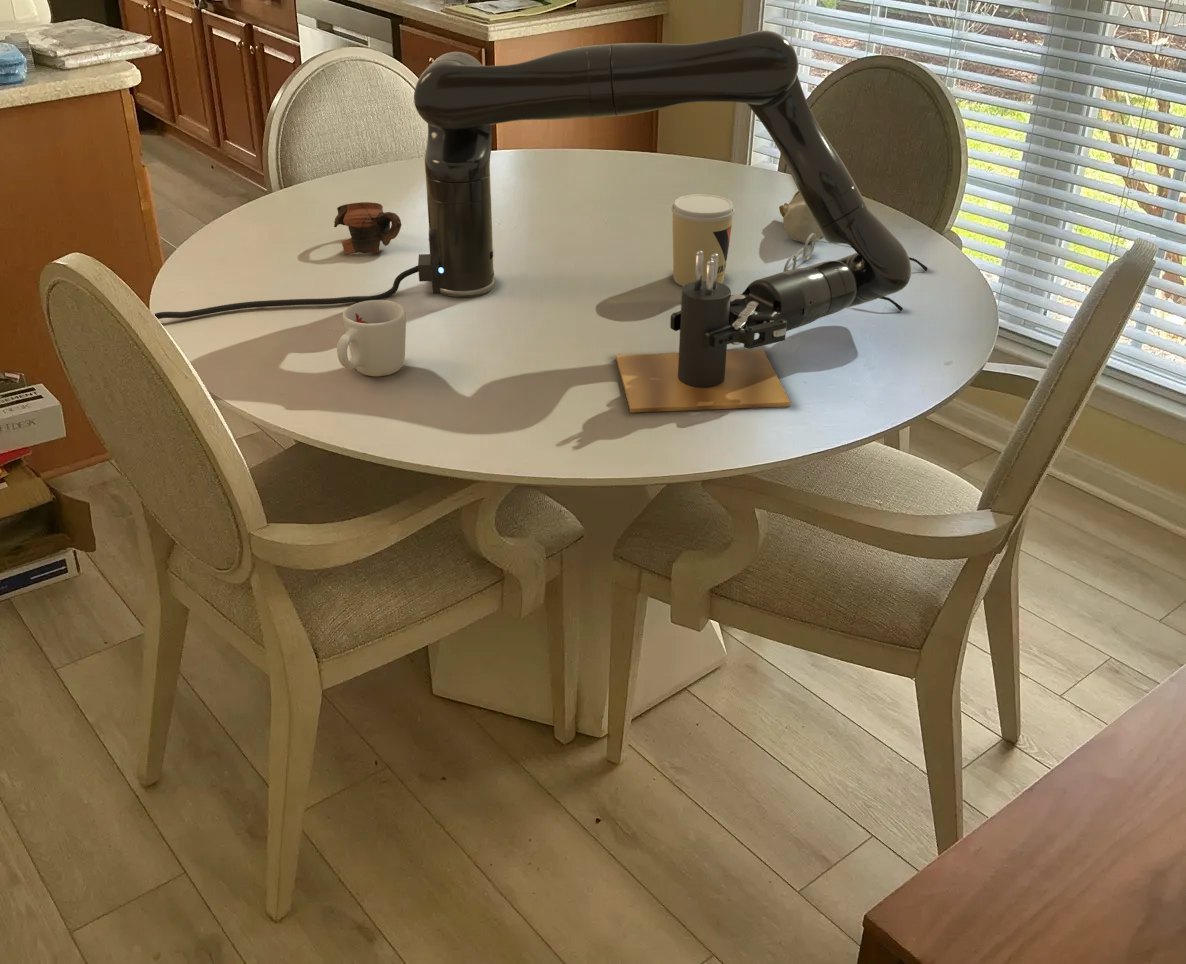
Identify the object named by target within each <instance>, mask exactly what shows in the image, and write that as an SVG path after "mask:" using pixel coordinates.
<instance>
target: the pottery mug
mask: <svg viewBox="0 0 1186 964" xmlns="http://www.w3.org/2000/svg"><path fill="white" fill-rule="evenodd" d="M383 208H384V206H383V204H381V203H378V202H369V201H360V202H352V203H345V204H341V205H340V206H337V208H336V210H337V215H336V216H335V218H334V221H333V223H334V225H333V227H334V228H337V227H338V226H339V225H342V226H346V227H348V231H349V234H350V238H347V239H345V240H344V239H343V240H342V241H341V245H342V249H343V252H344V255H353V254H360V253H361V254H379V253H380V247H381V243H382V245H384V246H386V247H387V246H389V244H390V243H391V241H392V240H395V238H396V237H397V236H398V235H399V234H400V231H401V229H402V221H401V218H400V216H399V215H398V214H397V213H396V212H391V211H385V212H384V210H383Z"/></svg>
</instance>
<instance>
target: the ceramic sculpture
mask: <svg viewBox="0 0 1186 964" xmlns="http://www.w3.org/2000/svg"><path fill="white" fill-rule="evenodd" d="M778 209H779V213H780V215H781V217H782V218H783V220H782V223H783V229H784V231H785V233H786V235H787V236H788V237H789V239H791V240H793V241H797V242H799V243H802V244H805V243H806V240H807V238H808V237H809V236H810V234H812V233H815V234H816V239H818V240H819V241H820V239H822V238H823V237H824V236H823V235H822V233H821V231H820V230H819V227H818V226H817V224H816V222H815V221H814V219H813V217H812V215H811V213H810V212H809V210H808V208H807V206H806V204H805V202H804V200H803V198H802V196H801V194H800V192H799V190H798V191H796V192H795V194H794V195H793V197H792V199H791V200H790V201H789V203H787V202H784V204H782V205H779V206H778ZM808 243H813V236H812V237H811V238H810V240H809V242H808Z"/></svg>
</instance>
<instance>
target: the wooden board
mask: <svg viewBox="0 0 1186 964" xmlns="http://www.w3.org/2000/svg"><path fill="white" fill-rule="evenodd" d="M615 361H616V364H617V367H618V368H617V369H618V372H619V376H620V378H621V383H622V386H623V391H624V393H625V397H626V401H627V405H628V408H629V413H631V414H633V413H655V412H680V411H681V412H682V411H702V410H703V411H705V410H706V411H707V410H708V411H709V410H728V409H731V410H732V409H754V408H755V409H758V408H783V407H784V408H785V407H791V403H792V402H791V400H790V399H789V396H788V395H787V393H786V391H785V389H784V387H783V385H782V382H781V381H780V379H779V377H778V375H777V373H776V371H775V369H774V368H773V366H772V364H771V362H770V360H769V358H768V356H767V354H766V352H765V350H764V349H747V350H745V349H744V350H727V352H726V365H725V378H724V381H723V382H722V383H721V384H719V385H717V386H714V387H708V388H698V387H692V386H689V385H686V384H684V383H682V382H681V381H680V380H679V378H678V361H679V352H663V353H661V352H660V353H636V354H635V353H634V354H633V353H631V354H616V355H615Z"/></svg>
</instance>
